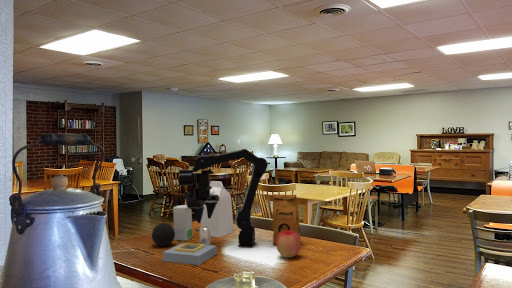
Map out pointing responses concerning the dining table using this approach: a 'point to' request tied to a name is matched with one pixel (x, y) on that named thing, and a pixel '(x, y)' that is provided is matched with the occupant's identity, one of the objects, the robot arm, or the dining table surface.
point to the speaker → (163, 234)
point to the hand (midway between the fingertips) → (204, 220)
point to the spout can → (204, 235)
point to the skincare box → (182, 223)
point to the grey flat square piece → (189, 253)
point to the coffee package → (285, 215)
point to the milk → (219, 212)
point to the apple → (288, 243)
